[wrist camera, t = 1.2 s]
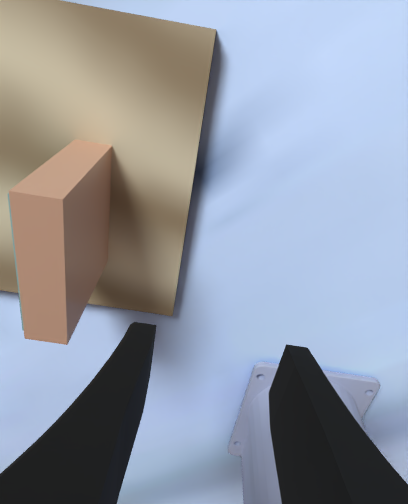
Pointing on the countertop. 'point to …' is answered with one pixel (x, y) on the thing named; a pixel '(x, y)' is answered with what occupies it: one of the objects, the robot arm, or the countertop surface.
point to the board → (108, 129)
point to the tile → (61, 238)
